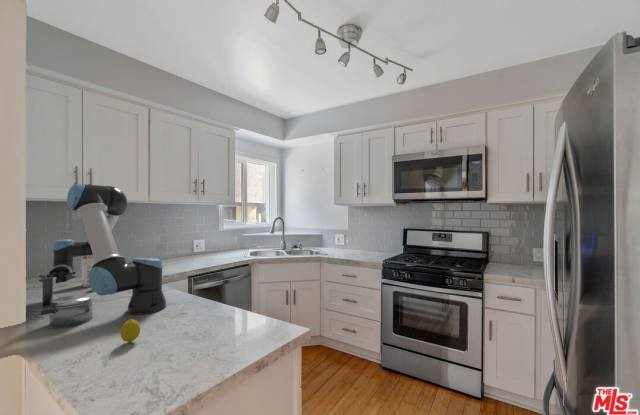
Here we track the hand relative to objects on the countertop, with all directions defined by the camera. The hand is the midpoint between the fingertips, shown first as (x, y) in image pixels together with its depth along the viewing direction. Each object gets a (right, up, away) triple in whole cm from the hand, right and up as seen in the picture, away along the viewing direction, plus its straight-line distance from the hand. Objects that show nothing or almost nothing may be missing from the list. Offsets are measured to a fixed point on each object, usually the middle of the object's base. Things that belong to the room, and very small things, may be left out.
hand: (51, 283), depth 119 cm
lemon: (+48, -14, -22) cm, 54 cm away
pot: (+11, -15, -5) cm, 19 cm away
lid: (+11, -6, -5) cm, 14 cm away
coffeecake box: (-25, -16, +57) cm, 64 cm away
